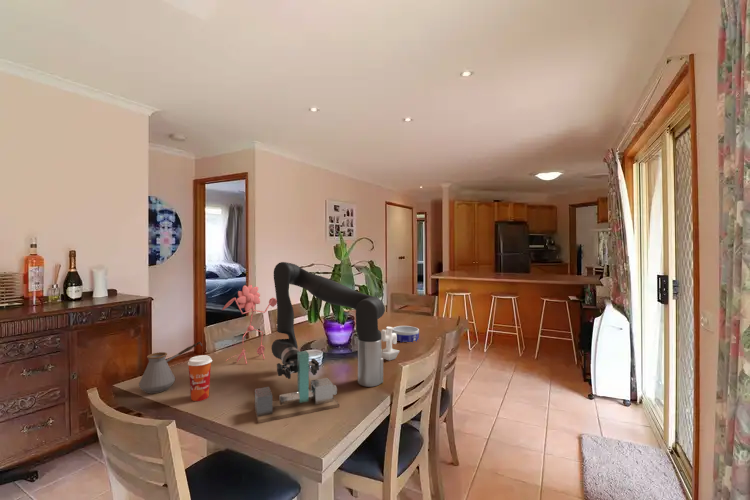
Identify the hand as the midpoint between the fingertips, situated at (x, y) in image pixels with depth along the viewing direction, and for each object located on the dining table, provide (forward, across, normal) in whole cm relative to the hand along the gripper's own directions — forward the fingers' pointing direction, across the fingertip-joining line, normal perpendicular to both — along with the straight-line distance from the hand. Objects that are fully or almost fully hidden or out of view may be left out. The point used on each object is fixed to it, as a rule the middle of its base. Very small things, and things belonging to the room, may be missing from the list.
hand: (302, 374), depth 118 cm
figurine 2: (-30, +48, +11) cm, 58 cm away
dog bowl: (-56, +72, +11) cm, 92 cm away
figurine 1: (-57, -13, +11) cm, 60 cm away
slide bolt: (+1, +2, +9) cm, 9 cm away
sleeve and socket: (+1, -3, +10) cm, 10 cm away
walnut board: (+1, -2, +11) cm, 11 cm away
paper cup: (-20, -32, +11) cm, 39 cm away
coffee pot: (-36, -42, +11) cm, 56 cm away
